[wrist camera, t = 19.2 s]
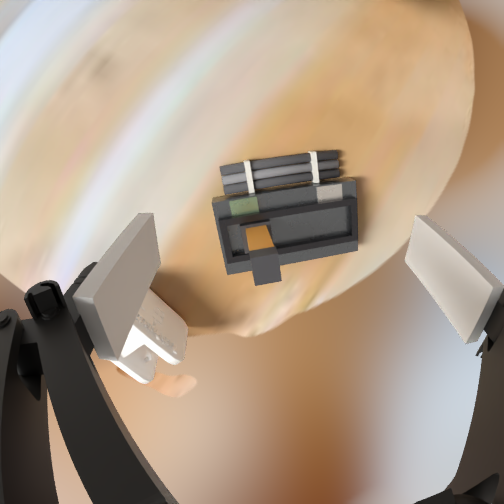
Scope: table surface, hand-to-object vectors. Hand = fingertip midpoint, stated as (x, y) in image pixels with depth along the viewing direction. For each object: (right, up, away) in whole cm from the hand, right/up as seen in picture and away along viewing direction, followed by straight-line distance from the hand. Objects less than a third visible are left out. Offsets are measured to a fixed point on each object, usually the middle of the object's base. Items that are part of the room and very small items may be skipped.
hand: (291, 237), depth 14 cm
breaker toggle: (-1, +2, +31) cm, 31 cm away
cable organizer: (-22, -12, +39) cm, 46 cm away
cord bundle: (+3, +12, +30) cm, 32 cm away
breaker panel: (+4, +4, +34) cm, 34 cm away
